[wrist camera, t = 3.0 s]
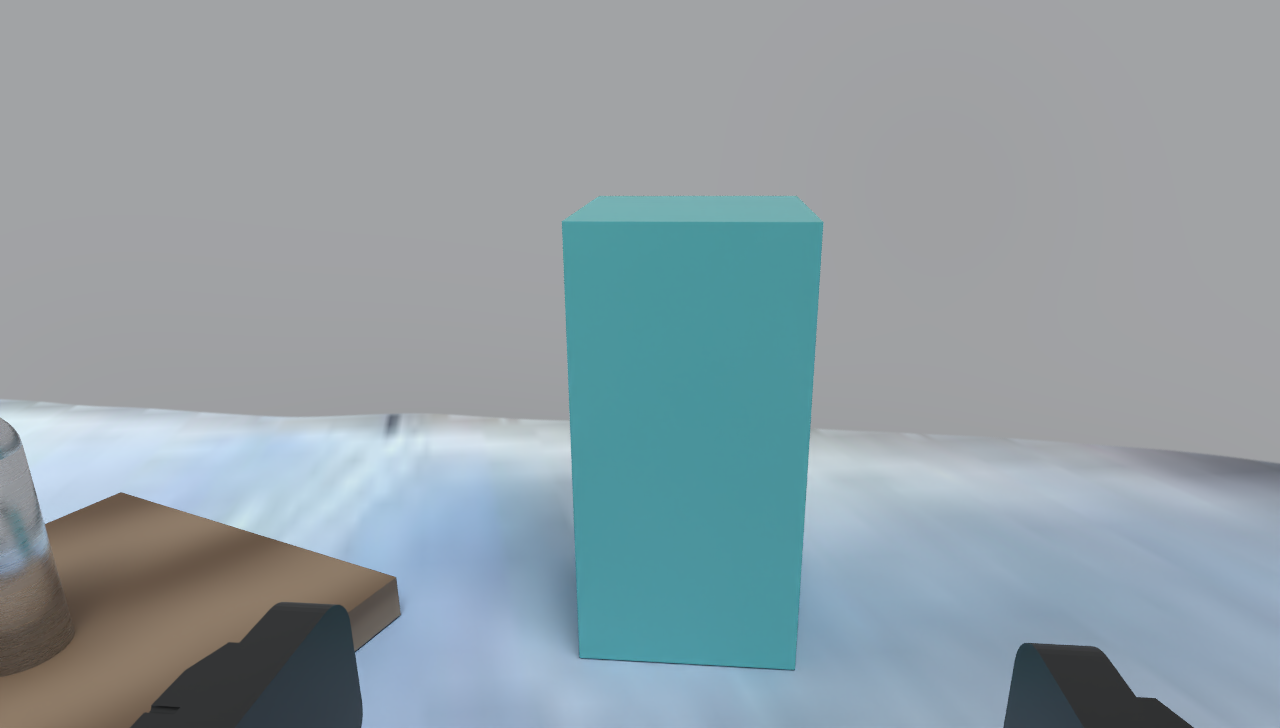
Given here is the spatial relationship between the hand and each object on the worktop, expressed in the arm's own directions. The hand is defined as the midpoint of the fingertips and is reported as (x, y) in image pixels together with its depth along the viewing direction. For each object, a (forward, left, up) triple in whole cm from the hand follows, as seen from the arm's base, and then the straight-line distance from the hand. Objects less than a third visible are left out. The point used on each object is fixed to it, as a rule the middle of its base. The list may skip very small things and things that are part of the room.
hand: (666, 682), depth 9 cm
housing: (+4, -10, -7) cm, 13 cm away
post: (+17, 0, -5) cm, 18 cm away
